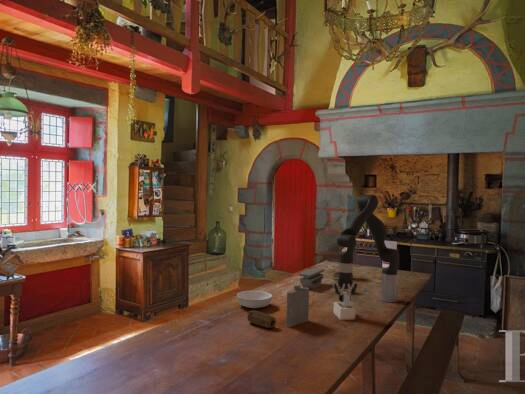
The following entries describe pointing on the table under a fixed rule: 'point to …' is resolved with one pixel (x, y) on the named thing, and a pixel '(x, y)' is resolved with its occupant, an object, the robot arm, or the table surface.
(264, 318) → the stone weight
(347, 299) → the tall brushed metal block
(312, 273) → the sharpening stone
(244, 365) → the table surface
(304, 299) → the hip flask
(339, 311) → the hollow off-white angular block
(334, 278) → the ceramic cup
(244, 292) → the serving bowl
